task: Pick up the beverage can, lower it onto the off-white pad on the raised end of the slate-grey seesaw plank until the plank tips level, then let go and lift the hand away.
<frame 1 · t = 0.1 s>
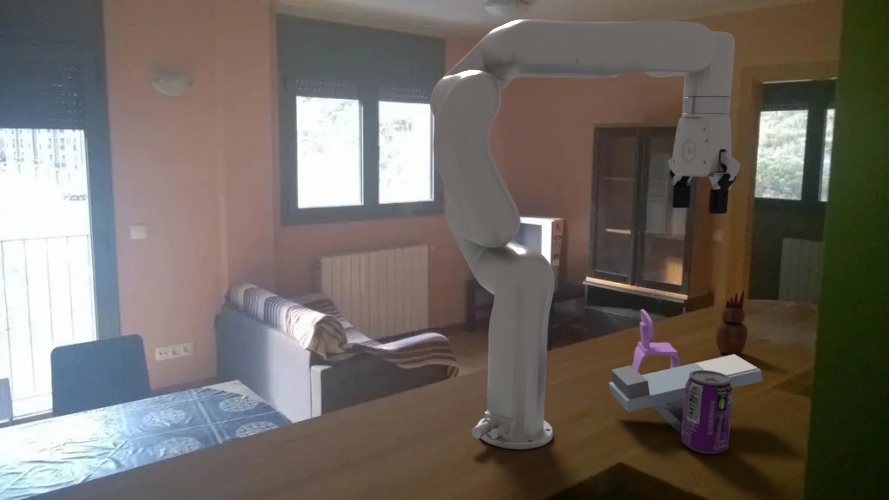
hand: (698, 210, 119), 37 cm above the kitchen counter, tool pointing down, fingers open, 9 cm apart
wooden figurine: (729, 354, 163), on the kitchen counter
plank: (682, 375, 122), point 8 cm above the kitchen counter, hinge at -12.0°
beverage can: (703, 448, 112), on the kitchen counter
seesaw stand: (681, 419, 123), on the kitchen counter
toy chair: (652, 382, 143), on the kitchen counter
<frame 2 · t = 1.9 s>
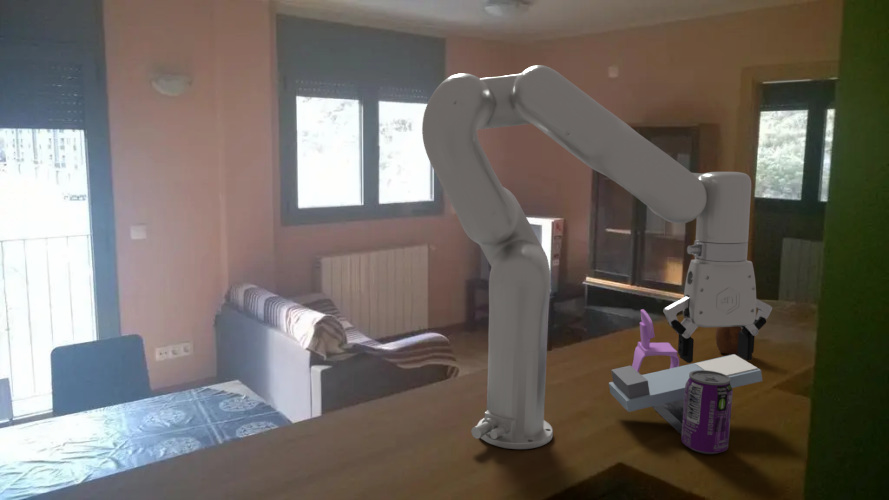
hand: (715, 359, 110), 15 cm above the kitchen counter, tool pointing down, fingers open, 9 cm apart
nothing on the kitchen counter moved.
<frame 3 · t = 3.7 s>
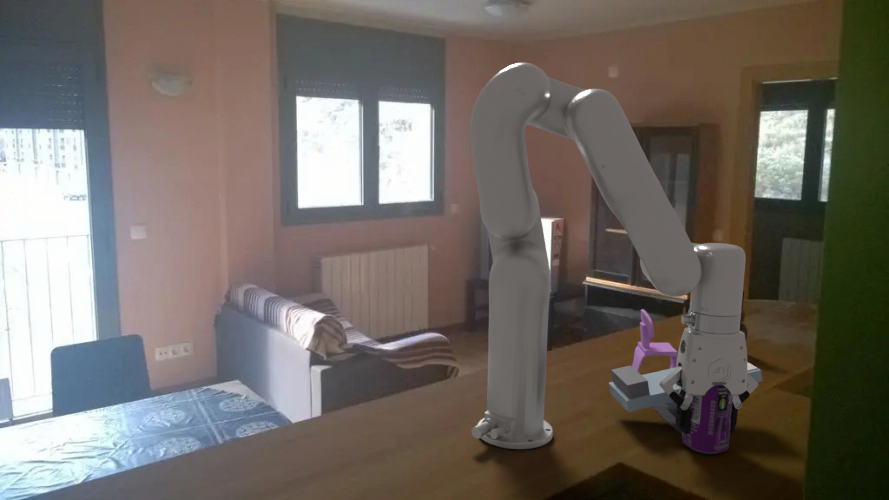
hand: (705, 429, 112), 3 cm above the kitchen counter, tool pointing down, fingers closed on beverage can, 6 cm apart
beverage can: (704, 448, 112), on the kitchen counter, touching gripper
everything else where it was.
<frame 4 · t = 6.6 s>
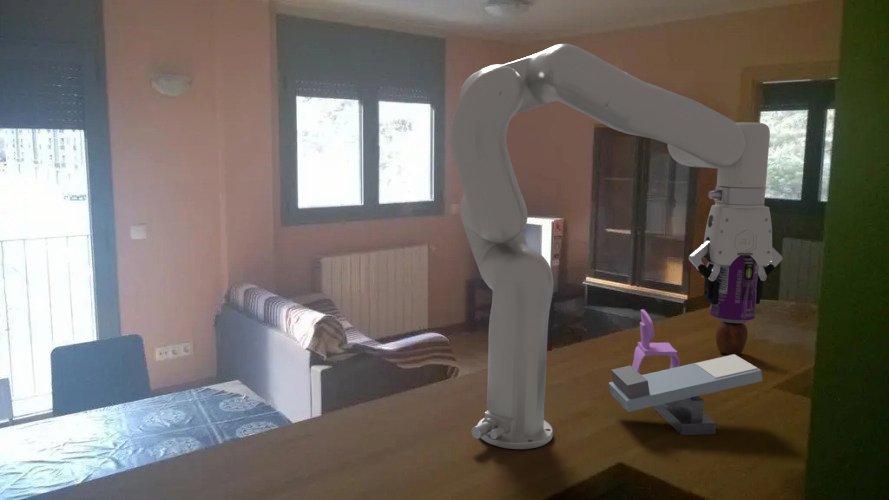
hand: (732, 301, 118), 22 cm above the kitchen counter, tool pointing down, fingers closed on beverage can, 6 cm apart
beverage can: (731, 320, 119), point 19 cm above the kitchen counter, touching gripper
everything else where it was.
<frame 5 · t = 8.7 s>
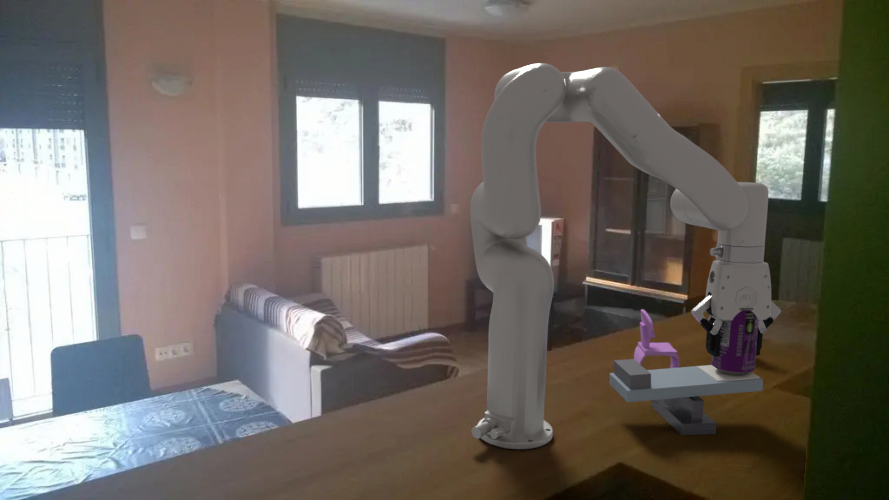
hand: (733, 353, 122), 12 cm above the kitchen counter, tool pointing down, fingers closed on beverage can, 6 cm apart
plank: (684, 374, 122), point 8 cm above the kitchen counter, hinge at -3.7°, touching beverage can
beverage can: (732, 371, 123), point 9 cm above the kitchen counter, touching gripper, plank
everything else where it was.
when the fingers open (12 cm above the kitchen counter, at t = 9.6 s): beverage can stays where it is, resting on plank.
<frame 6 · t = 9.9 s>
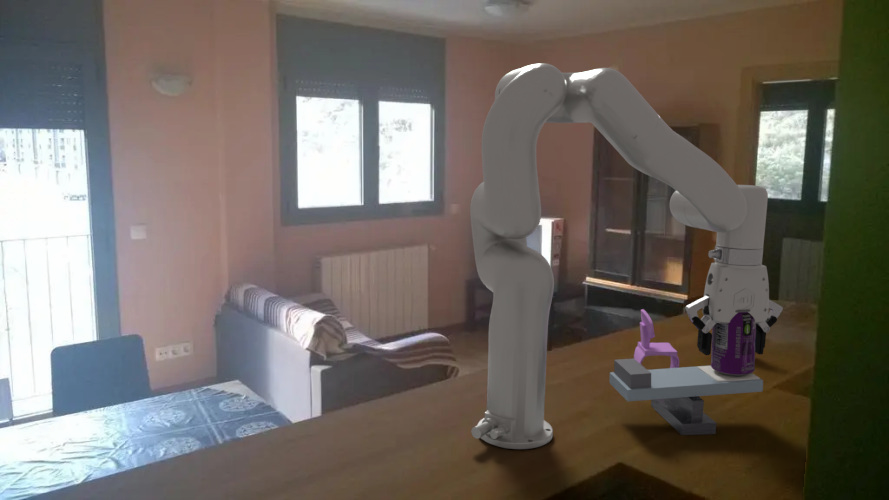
hand: (730, 352, 122), 12 cm above the kitchen counter, tool pointing down, fingers open, 9 cm apart
plank: (684, 374, 122), point 8 cm above the kitchen counter, hinge at -3.0°, touching beverage can
beverage can: (732, 373, 123), point 8 cm above the kitchen counter, touching plank
everything else where it was.
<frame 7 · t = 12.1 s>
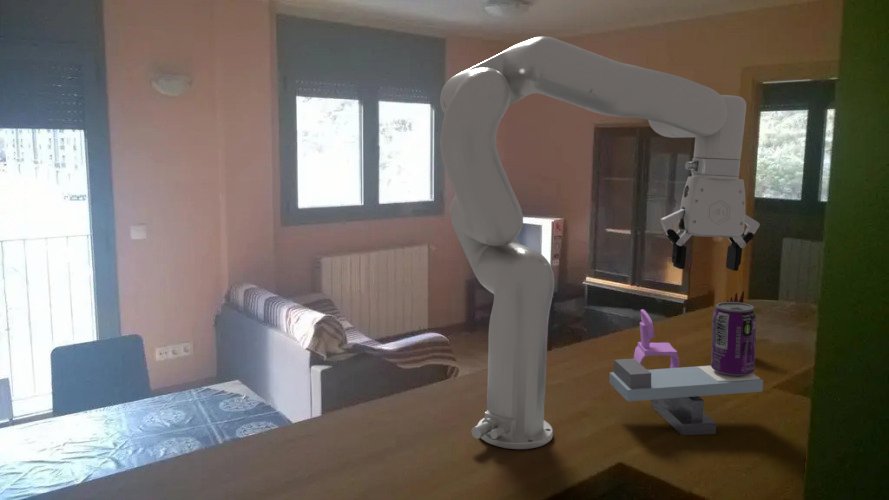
hand: (705, 268, 121), 27 cm above the kitchen counter, tool pointing down, fingers open, 9 cm apart
nothing on the kitchen counter moved.
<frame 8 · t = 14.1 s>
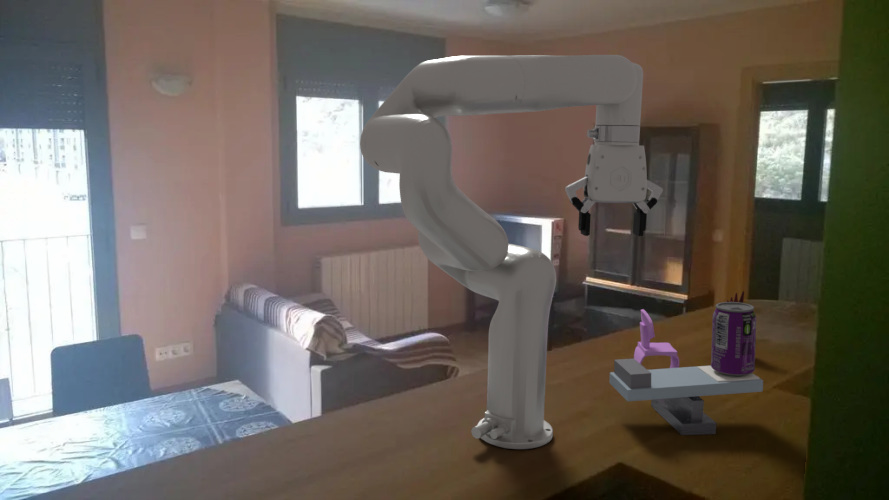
hand: (611, 234, 123), 32 cm above the kitchen counter, tool pointing down, fingers open, 9 cm apart
nothing on the kitchen counter moved.
at the end: plank at -3° (first picture: -12°); beverage can touching plank; beverage can tilted 3° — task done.
